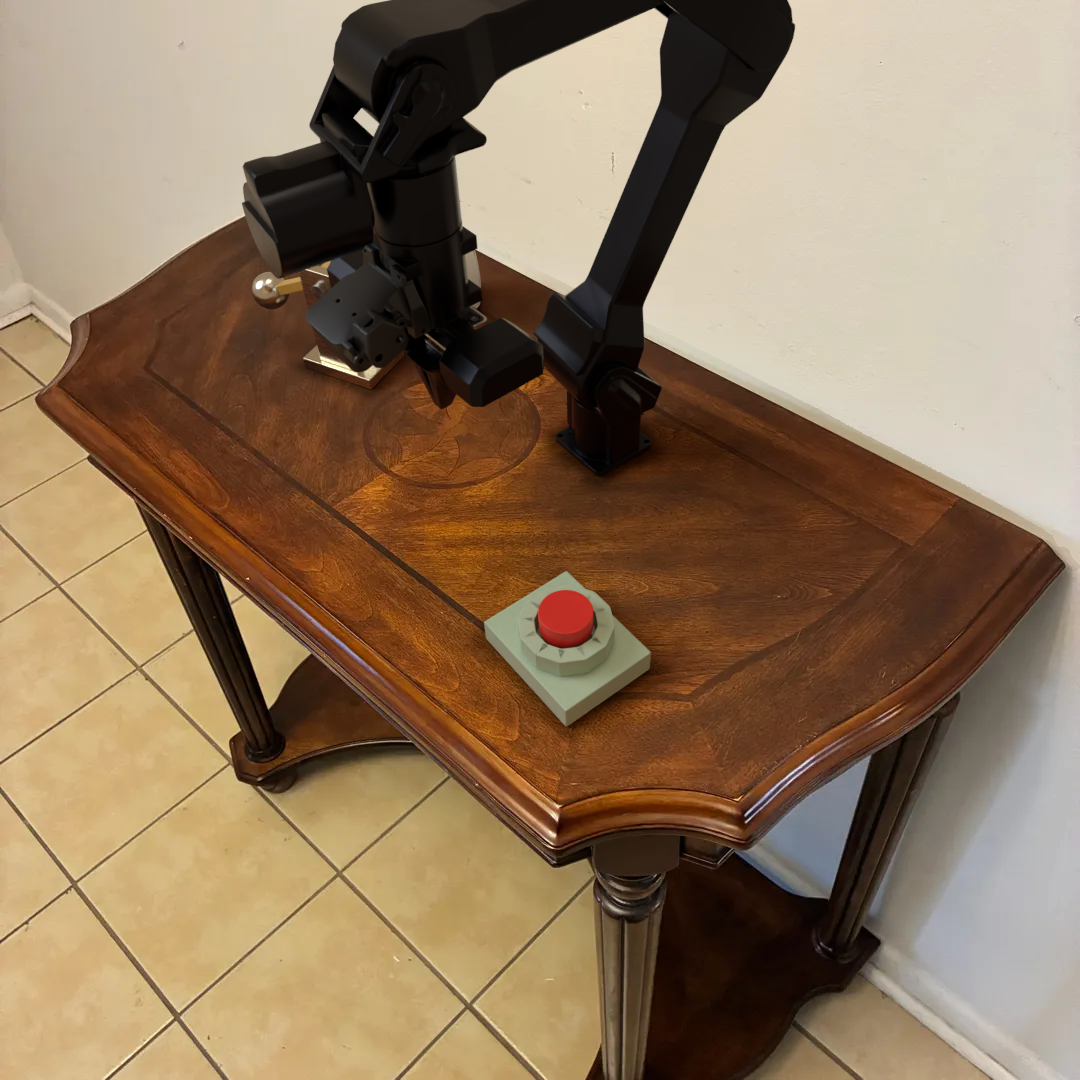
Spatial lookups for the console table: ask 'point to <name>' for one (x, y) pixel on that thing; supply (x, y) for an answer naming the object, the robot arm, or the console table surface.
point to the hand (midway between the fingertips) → (443, 404)
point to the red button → (565, 618)
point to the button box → (568, 653)
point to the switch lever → (275, 289)
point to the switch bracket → (320, 355)
